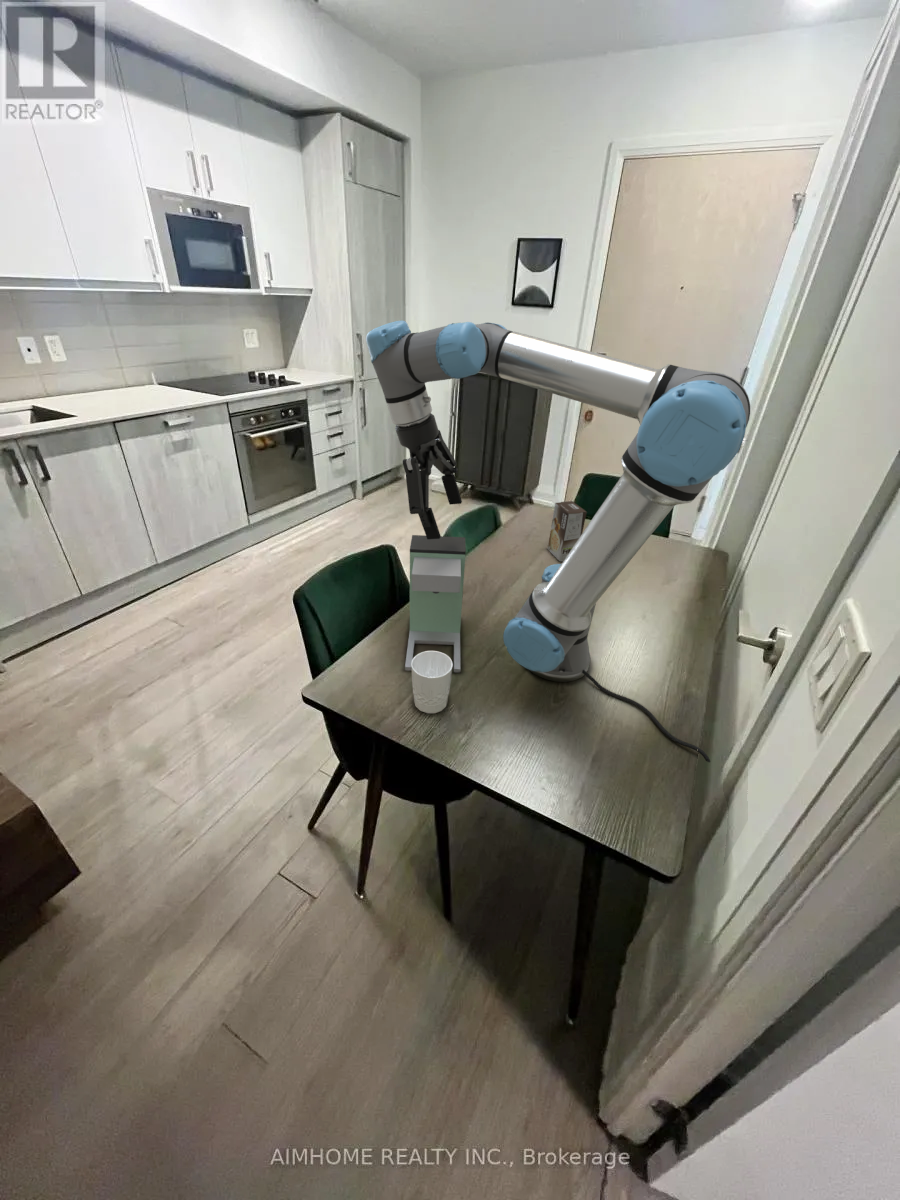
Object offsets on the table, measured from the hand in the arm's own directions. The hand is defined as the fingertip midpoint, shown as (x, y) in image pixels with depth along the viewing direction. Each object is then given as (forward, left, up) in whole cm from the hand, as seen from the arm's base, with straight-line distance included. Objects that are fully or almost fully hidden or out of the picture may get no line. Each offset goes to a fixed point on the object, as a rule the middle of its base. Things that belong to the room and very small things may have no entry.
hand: (445, 520), depth 101 cm
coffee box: (+5, -58, -30) cm, 65 cm away
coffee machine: (-2, +3, -30) cm, 30 cm away
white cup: (-15, +17, -30) cm, 38 cm away
